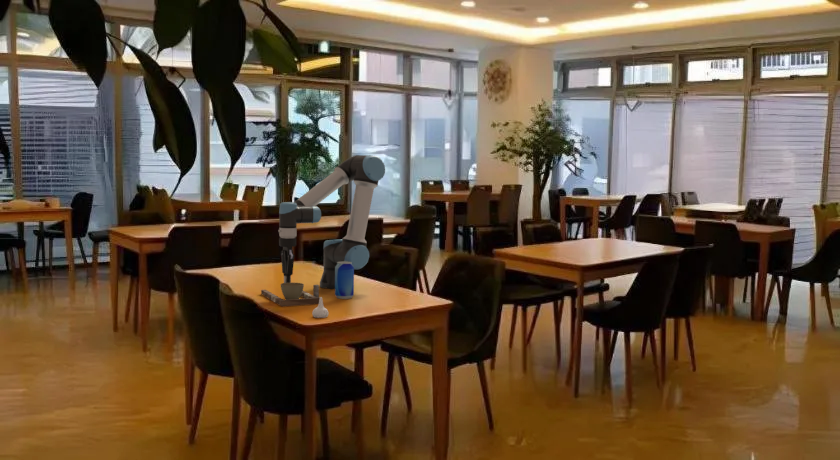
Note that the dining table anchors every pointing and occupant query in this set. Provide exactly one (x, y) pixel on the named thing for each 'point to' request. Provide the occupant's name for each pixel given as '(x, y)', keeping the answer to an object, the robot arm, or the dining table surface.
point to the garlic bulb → (320, 310)
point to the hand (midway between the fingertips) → (287, 289)
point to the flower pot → (292, 290)
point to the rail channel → (294, 302)
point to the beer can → (344, 280)
